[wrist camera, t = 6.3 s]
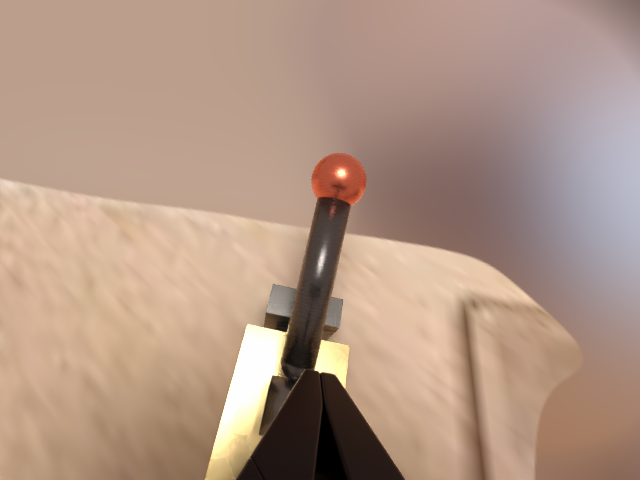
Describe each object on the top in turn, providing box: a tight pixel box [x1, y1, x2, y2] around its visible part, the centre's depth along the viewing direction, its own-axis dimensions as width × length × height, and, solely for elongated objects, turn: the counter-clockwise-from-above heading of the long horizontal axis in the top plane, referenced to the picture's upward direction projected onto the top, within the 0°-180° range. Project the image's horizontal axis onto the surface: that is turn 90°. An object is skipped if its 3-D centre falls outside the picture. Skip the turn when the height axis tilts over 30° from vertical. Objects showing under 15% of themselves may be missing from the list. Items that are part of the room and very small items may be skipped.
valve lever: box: [259, 153, 366, 436], centre depth 15 cm, size 3×3×13 cm
